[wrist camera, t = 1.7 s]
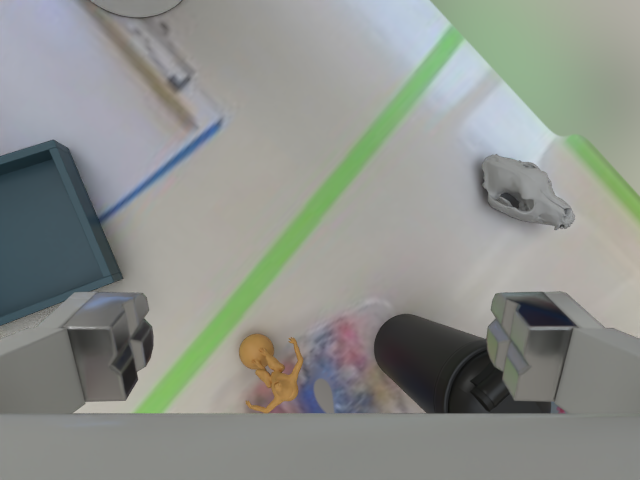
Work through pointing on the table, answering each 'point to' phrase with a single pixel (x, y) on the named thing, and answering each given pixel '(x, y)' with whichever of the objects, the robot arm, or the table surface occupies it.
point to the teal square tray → (47, 233)
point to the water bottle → (445, 368)
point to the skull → (524, 192)
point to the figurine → (260, 354)
